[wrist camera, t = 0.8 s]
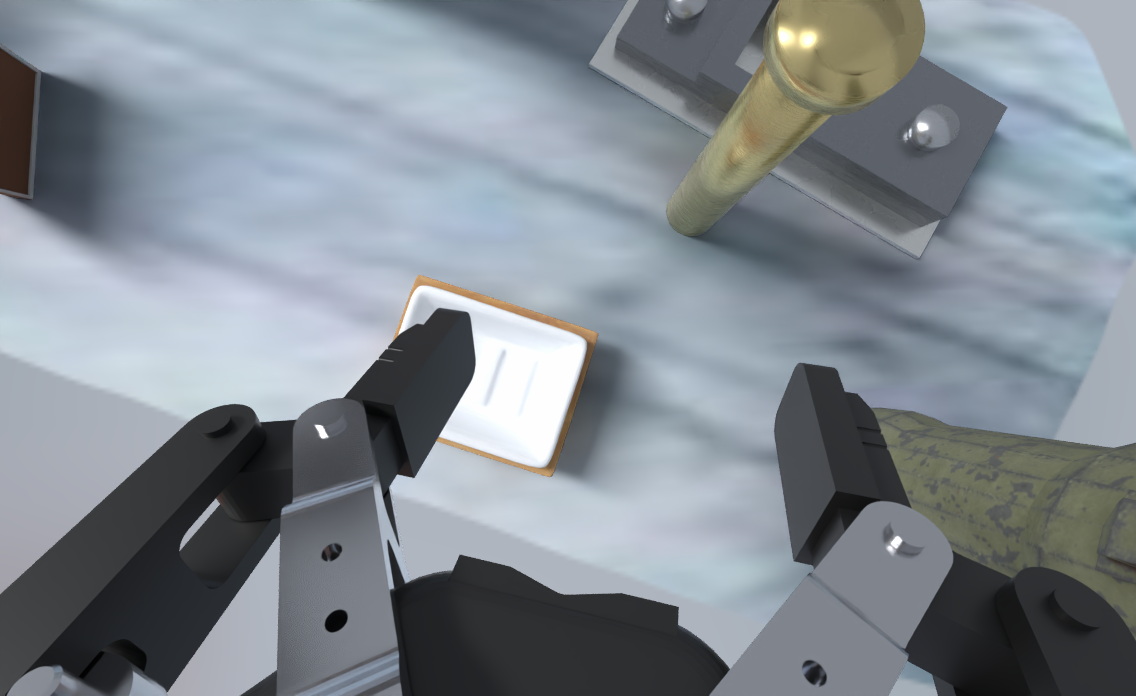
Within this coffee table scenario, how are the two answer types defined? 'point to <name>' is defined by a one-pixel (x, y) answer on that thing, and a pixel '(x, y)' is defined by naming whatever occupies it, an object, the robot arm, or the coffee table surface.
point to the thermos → (1023, 500)
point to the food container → (18, 124)
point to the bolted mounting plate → (841, 144)
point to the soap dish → (510, 376)
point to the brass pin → (798, 94)
